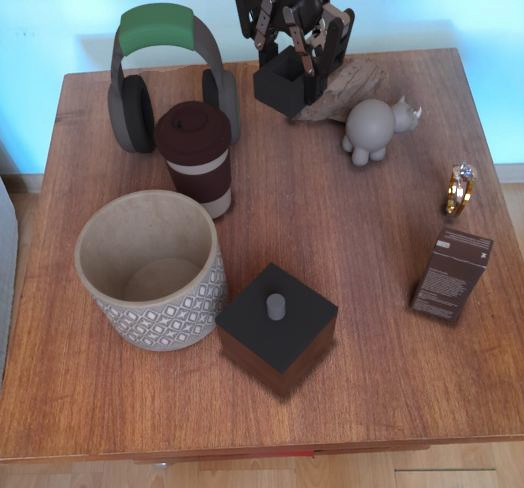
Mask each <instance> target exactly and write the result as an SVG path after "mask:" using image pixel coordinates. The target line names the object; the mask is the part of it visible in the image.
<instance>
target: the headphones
mask: <svg viewBox="0 0 524 488" xmlns="http://www.w3.org/2000/svg"><path fill="white" fill-rule="evenodd" d="M157 46H158V47H159V46H170V47H177V48H178V47H179V48H182V49H185V50H189V51H191V52H195V53H197V54H198V55H199V56H200V57H201V58H202V59H203V60H204V61H205V63H206V64H207V66H208V67H209V68H205V69H203V71H202V75H201V90H202V91H201V93H202V102H204V103H206V104H209V105H212V106H215V107H217V108H219V109H220V110H221V111H223V112H224V113H225V114H226V116H227V117H228V119H229V121H230V124H231V132H232V139H231V143H230V145H229V146H233V145H236V144H237V143H238V142H239V141H240V139H241V133H242V131H241V130H242V127H241V113H240V111H241V110H240V102H239V91H238V83H237V79H236V76H235V75H234V72H232V71H231V70H228V69H225V68H224V64H223V58H222V55H221V51H220V48H219V44H218V43H217V41H216V38H215V37H214V34H213V32H212V31H211V29H210V28H209V27H208V26H207V25H206V23H205V22H204V21H203V20H201V18H199V17H198V16H197V15H195V13H194V10H193V9H192V8H190V7H188V6H185V5H182V4H178V3H172V2H151V3H145V4H141V5H137V6H134V7H132V8H130V9H128V10H126V11H124V12H123V13H122V14H121V15H120V20H119V25H118V27H117V29H116V31H115V35H114V38H113V46H112V53H111V62H110V81H111V83H110V84H109V86H108V90H107V109H108V117H109V122H110V126H111V130H112V132H113V136H114V137H115V140H116V142H117V144H118V145H119V146H120V148H121V149H122V150H124V151H125V152H126V153H131V154H133V153H134V154H135V153H139V154H142V155H146V154H147V155H148V154H152V153H153V152H154V150H155V146H156V143H155V140H154V129H155V126H156V123H155V117H154V110H153V103H152V100H151V96H150V91H149V89H148V86H147V84H146V82H145V79H144V78H143V76H142V75H139V74H129V75H127V76H125V75H124V70H123V65H122V61H123V59H125V57H126V58H127V57H129V56H130V55H131V54H133V53H135V52H137V51H139V50H142V49H145V48H146V49H147V48H150V47H157Z"/></svg>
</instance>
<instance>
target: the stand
mask: <svg viewBox="0 0 524 488" xmlns="http://www.w3.org/2000/svg"><path fill="white" fill-rule="evenodd" d="M338 314H339V312H338V313H337V314H336V315H335V316H334V317H333V318H332V319H331V321H330V322H329V323H328V324H327V325H326V326H325V327H324V328H323V329H322V331H321V332H320V333H319V334H318V335H317V336H316V337H315V338H314V340H313V341H312V342H311V343H310V344H309V345H308V346H307V347H306V349H305V350H304V351H303V352H302V353H301V354H300V355H299V356H298V357H297V359H296V360H295V361H294V362H293V363H292V364H291V365H290V366H289V368H288V369H287V370H286V371H285V372H284V373H283V374H281V373H280V372H279V371H277V370H276V369H275V368H273V367H272V366H271V365H269V364H268V363H267V362H266V361H264V360H263V359H262V358H260V357H259V356H258V355H256V354H255V353H254V352H252V351H251V350H250V349H249V348H247V347H246V346H245V345H243V344H242V343H241V342H239V341H238V340H237V339H235V338H234V337H233V336H232V335H230V334H229V333H228V332H226V331H225V330H224V329H222V328H221V327H220V326H219V325H217V324H216V329H217V332H218V336H219V340H220V343H221V347H222V350H223V353H224V354H225V355H226V356H228V357H229V358H230V359H232V361H234V362H235V363H237V364H238V365H239V366H240V367H242V368H243V369H244V370H246V371H247V373H249V374H251V375H252V376H253V377H254V378H256V379H257V380H258V381H260V382H261V383H262V384H263V385H265V386H266V387H267V388H269V389H270V390H271V391H272V392H273V393H275V394H276V395H277V396H278V397H280V398H282V399H285V398H286V397H287V395H288V394H290V392H291V391H292V390H293V389H294V388H295V386H296V385H297V384H298V383H299V382H300V381H301V379H302V378H303V377H304V376H305V375H306V374H307V373H308V371H309V370H310V369H311V368H312V367H313V366H314V365H315V364H316V362H317V361H318V360H319V359H320V358H321V357H322V355H323V354H324V353H325V352H326V351H327V350H328V348H329V347H330V346H331V345H332V344H333V341H334V334H335V330H336V324H337V318H338Z"/></svg>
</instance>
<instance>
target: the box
mask: <svg viewBox="0 0 524 488" xmlns="http://www.w3.org/2000/svg"><path fill="white" fill-rule="evenodd" d="M493 245H494V240H493V239H490V238H486V237H482V236H478V235H476V234H472V233H468V232H465V231H461V230H457V229H455V228H452V227H448V226H444V225H443V226H441V229H440V230H439V233H438V235H437V237H436V241H435V243H434V245H433V248H432V251H431V252H430V255H429V258H428V260H427V263H426V265H425V267H424V270H423V272H422V275H421V277H420V279H419V282H418V284H417V287H416V289H415V293H414V295H413V298H412V301H411V303H410V307H409V308H410V309H412V310H415V311H418V312H420V313H424V314H426V315H431V316H433V317H436V318H439V319H442V320H444V321H445V320H446V321H448V322H452V323H454V322H455V320H456V318H457V317H458V315H459V313H460V312H461V310H462V309H463V308H464V305H465V304H466V302H467V300H468V299H469V297H470V296H471V294H472V292H473V290H475V287H476V286H477V284H478V282H479V281H480V279H481V277H482V276H483V274H484V273H485V271H486V270H487V268H488V264H489V260H490V258H491V257H490V256H491V252H492V248H493Z"/></svg>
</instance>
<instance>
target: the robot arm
mask: <svg viewBox="0 0 524 488" xmlns="http://www.w3.org/2000/svg"><path fill="white" fill-rule="evenodd" d="M234 1H235V2H234V3H235V7H236V11H237V15H238V16H237V17H238V21H239V27H240V30H241V34H242V37H243V38H244V39H246V40H249V39H251V40H252V41H253V45H254V47H255V49H256V50H257V53H258V70H259V69H260V68H261V67H262V66H264V65H265V64H267V63H268V62H269V61H270V60H272V59H273V58H274V57H276V56H277V55H278V54H279V43H278V42H276V40H277V38H278V35H279V33H280V32H281V33H285V34H286V35H287V36H288V37H289V38H291V40H292V44H293V46H294V47H295V51H296V53H297V54H298V55H301V58H302V62H303V65H304V69H305V72H306V73H305V74H304V104H306V105H308V106H311V105H312V104H313V103H315V102H316V101H317V100H318V99H319V98H321V97H322V95H323V93H324V81H325V79H326V78H327V77H329V76H330V75H331V74H332V73H333V72H334V71H336V70H337V69H338V68H339V67H340V66H341V65H342V64H343V62H345V61H344V60H345V57H346V53H347V50H348V45H349V42H350V39H351V34H352V32H353V31H352V30H353V26H354V23H355V20H356V13H355V11H354V10H353V8H351V7H346V8H345V9H344V10H343V11H342V10H341V9H339V8H338V7H336V6H335V5H333V4H332V3H331V0H234ZM250 14H251V16H252V20H251V17H250ZM310 32H311V35H310V36H308V37H307V38H306V36H307V35H309V33H310ZM313 52H314V54H313ZM314 55H315V56H314ZM313 56H314V57H316V58H315V59H314V58H313Z"/></svg>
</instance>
